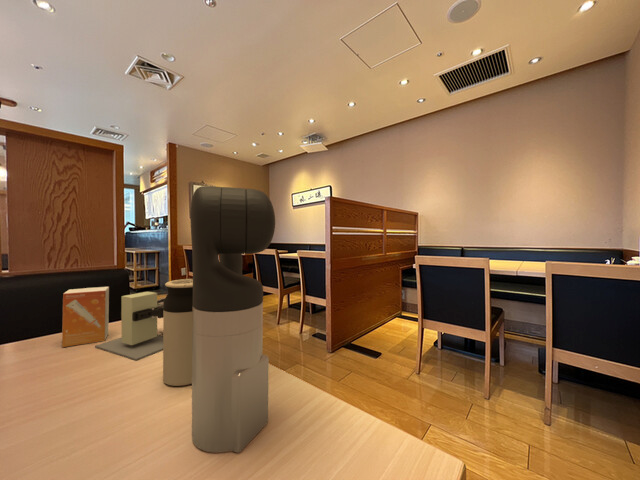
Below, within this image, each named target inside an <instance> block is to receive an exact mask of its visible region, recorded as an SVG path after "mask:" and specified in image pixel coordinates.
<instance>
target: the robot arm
mask: <svg viewBox="0 0 640 480" xmlns="http://www.w3.org/2000/svg"><path fill="white" fill-rule="evenodd" d="M192 194H193V195H192V197H191V202H190V211H189V214H190V216H189V217H190V218H189V219H190V236H191V253H192V255H191V256H192V257H191V258H192V279H193V313H192V384H191V441H192V443H193V444H194V446H195V447H197V448H198V449H200V450H202V451H205V452H209V453H222V452H224V453H225V452H228V451H229V452H231V451H232V452H234V453H237V454H238V453H240V452H241V451H243V450H244V448H245V447H246V446H248V444H249V443H250V442H251V441H252V440H253V439H254V438H255V436H257V434H258V433H260V431H261V430H262V429H263V428H264V427H265V426H266V425H267V424H268V423H269V372H270V371H269V368H270V367H269V365H270V364H269V362H270V361H269V356H268V355H267V354H263V352H264V351H263V348H264V346H263V345H264V344H263V342H264V341H263V339H264V337H263V335H264V333H263V331H264V326H263V325H264V315H263V314H264V287H263V284H262V282H261V281H260V280H258V279H255V278H253V277H250V276H246V275H243V255H244V254H245V255H252V254H258V253H261V252H263V251H265V250H266V249H268V247H269V246H270V245H271V242H272V240H273V238H274V235H275V232H276V231H275V230H276V216H275V215H276V214H275V209H274V205H273V203H272V201H271V199H270V197H269V196H268V195H267V194H266V193H265V192H263V190H258V189H255V188H254V189H253V188H244V187H243V188H242V187H231V186H230V187H229V186H228V187H227V186H215V185H214V186H212V185H208V186H207V185H203V186H202V185H201V186H199V187H197V188H196V189H195V191H194V192H193V193H192ZM165 298H166V297H161V298H159V299H157V306H155V307H151V308H148V309H144V310H140V311H135V312H133V314H132V320H133V321H139V320H143V319H147V318H155V317H157V319H163V308H164V299H165ZM120 318H121V319H122V309H121V311H120Z"/></svg>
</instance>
